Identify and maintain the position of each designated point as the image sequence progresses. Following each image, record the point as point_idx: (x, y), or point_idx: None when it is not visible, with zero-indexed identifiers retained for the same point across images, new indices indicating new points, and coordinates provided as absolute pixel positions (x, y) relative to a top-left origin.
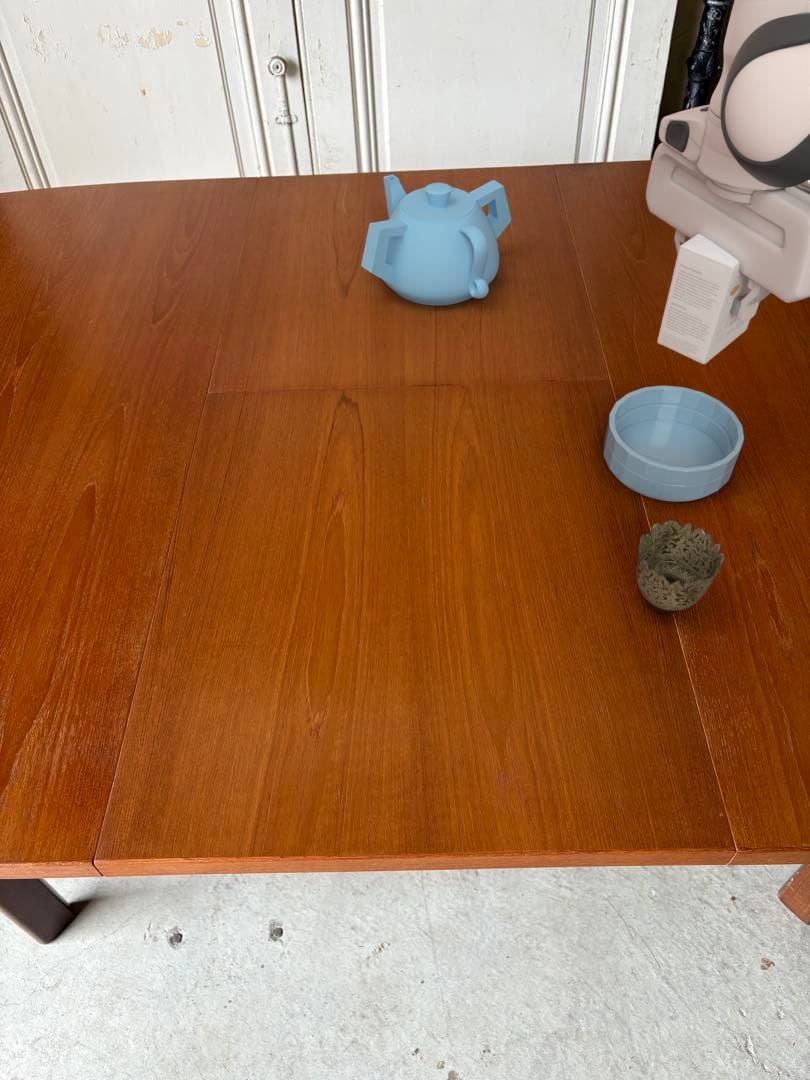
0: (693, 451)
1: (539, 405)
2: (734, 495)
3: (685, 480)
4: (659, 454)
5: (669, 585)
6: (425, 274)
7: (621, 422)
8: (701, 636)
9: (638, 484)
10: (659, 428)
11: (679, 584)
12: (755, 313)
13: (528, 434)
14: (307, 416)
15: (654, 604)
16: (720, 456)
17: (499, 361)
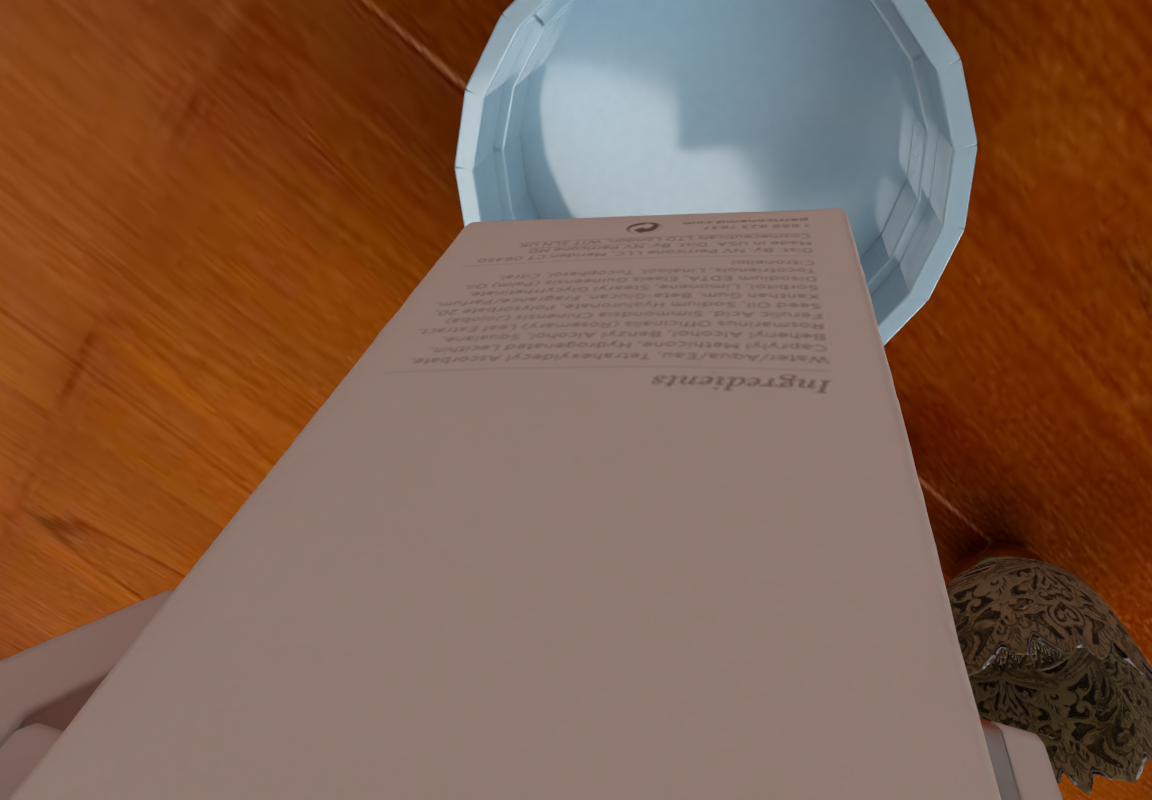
0: (764, 65)
1: (279, 232)
2: (989, 127)
3: None
4: (686, 169)
5: (1062, 772)
6: None
7: (515, 193)
8: (1120, 588)
9: None
10: (600, 52)
11: (1091, 782)
12: (1043, 745)
13: (368, 347)
14: (80, 598)
15: (1009, 669)
16: (858, 9)
17: (36, 155)
